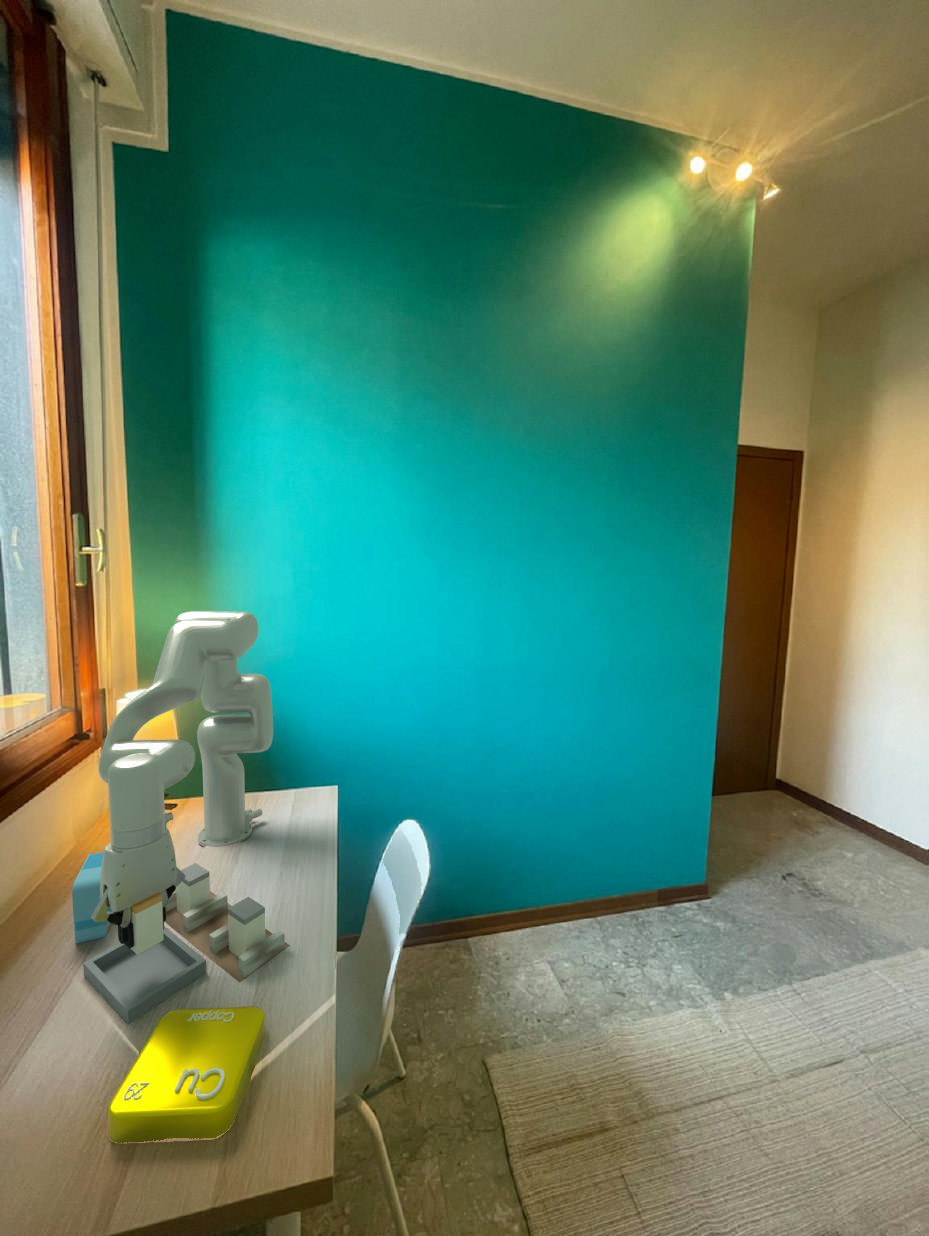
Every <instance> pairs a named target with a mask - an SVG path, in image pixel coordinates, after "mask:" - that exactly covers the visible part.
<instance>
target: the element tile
mask: <svg viewBox="0 0 929 1236" xmlns="http://www.w3.org/2000/svg"><path fill="white" fill-rule="evenodd" d="M264 1013H265V1012H264V1010H263V1009H262V1008H261V1007H258V1006H231V1007H228V1006H226V1007H197V1008H196V1007H195V1008H177V1009H174V1010H170V1011H167V1013H166V1014H164V1015H163V1016H162V1017H161V1018H160V1019H159V1020H158V1021H157V1023H156V1025H155V1027H154V1028H153V1030H152V1032H151V1033H150V1035H149V1037H148V1039H147V1040H146V1042H145V1043H144V1045H143V1046H142V1049H141V1050H140V1052H139V1053H138V1055H137V1057H136V1058H135V1059H134V1061H133V1063H132V1065H131V1067H130V1068H129V1070H128V1072H127V1073H126V1075H125V1076H124V1078H123V1080H122V1082H121V1083H120V1085H119V1086H118V1087H117V1090H116V1091H115V1093H114V1095H113V1096H112V1098H111V1100H110V1102H109V1105H108V1109H107V1115H108V1117H107V1118H108V1134H109V1135H110V1136H109V1139H110V1138H111V1140H112V1141H114V1142H117V1143H121V1142H122V1143H124V1142H127V1143H128V1142H144V1141H146V1142H147V1141H153V1140H154V1141H156V1140H159V1141H160V1140H164V1139H167V1138H168V1139H169V1138H171V1139H172V1138H189V1139H190V1138H191V1139H192V1138H193V1139H194V1138H196V1139H197V1138H199V1139H201V1138H202V1139H203V1138H216V1137H217V1136H219V1135H221V1134H223V1133H225V1132H226V1131H227V1130H228V1129H229V1128H230V1126H231V1125H232V1124H233V1122H234V1120H235V1118H236V1116H237V1117H238V1115H237V1113H238V1114H239V1112H238V1110H239V1107H240V1105H241V1106H242V1104H241V1102H242V1103H243V1101H242V1100H244V1098H243V1096H244V1094H245V1095H246V1093H245V1092H247V1090H248V1086H249V1084H250V1082H249V1081H251V1078H252V1075H253V1072H254V1070H255V1067H256V1065H255V1062H256V1059H257V1056H258V1053H259V1052H260V1049H261V1046H262V1042H263V1040H264V1037H265V1014H264ZM246 1089H247V1090H246ZM244 1097H245V1096H244ZM240 1108H241V1107H240ZM239 1111H240V1110H239ZM236 1119H237V1118H236ZM111 1140H110V1141H111Z"/></svg>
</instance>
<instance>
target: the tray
mask: <svg viewBox="0 0 929 1236" xmlns="http://www.w3.org/2000/svg"><path fill="white" fill-rule="evenodd" d="M163 937H164V940H163V941H161V942H159V943H158V944H156V945H154V946H152V947H151V948H149V949H147V950H145V951H144V952H142V953H140V954H138V955H137V954H136V953H135V952H134V951H133V950H132V949H131V948H130V949H129V948H128V947H127V946H126V945H125V944H121V943H120V942H119V943H117V944H115V945H113V946H112V947H110V948H108V949H106V950H105V951H102V952H100V953H99V954H97V955H95V956H93V957H91V958H89V959H88V960H86V961H84V962H83V963H82V964H83V965H82V966H83V976H84V977H85V979H87V981H88V982H89V983H90V984H91V985H92V986H93V987H94V988H95V990H97V992H98V993H99V994H100V995H101V996H102V997H103V998H104V999H105V1001H106V1002H107V1003H108V1004H109V1005H110V1006H111V1007H112V1009H114V1011H115V1012H116V1013H117V1014H118V1015H119V1016H120V1017H121V1019H122V1020H123V1021H124V1022H125V1023H126V1024H127V1025H131V1024H132V1023H134V1022H135V1021H137V1020H138V1019H139V1018H141V1017H142V1016H144V1015H146V1014H147V1013H148V1012H150V1011H152V1010H153V1009H155V1008H156V1007H157V1006H158V1005H160V1004H161V1003H163V1002H165V1001H166V1000H168V999H169V998H171V997H172V996H174V995H175V994H176V993H178V992H179V991H181V990H183V989H184V988H186V987H187V986H188V985H190V984H191V983H193V982H195V981H196V980H197V979H199V978H200V977H201V976H203V975H205V974H207V960H206V959H205V958H204V957H203V955H200V953H198V952H197V951H195V950H194V948H192V947H191V946H189V945H188V944H187V943H186V942H184V941H183V940H182V939H181V938H180V937H178V936H177V935H176V934H175V933H173V932H172V931H171V930H170V929H168V928H167V927H166V926H165V925H164V930H163Z"/></svg>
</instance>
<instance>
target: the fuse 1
mask: <svg viewBox="0 0 929 1236" xmlns="http://www.w3.org/2000/svg"><path fill="white" fill-rule="evenodd" d="M180 870H181V871H182V872H183V873H184V874H185V875H186V877H185V879H184V880H183V881H182V882H181V883H180V884H179V885H178V886H177V887H176V896H177V911H179V912H180V913H181V914H185V913H186V912H188V911H190V910H192V909H194V908H195V907H197V906H199V905H201V904H203V903H205V902H206V901H208V900H210V891H211V888H210V887H211V882H210V871H208V870H207V869H206V868H205V867H203V866H201V865H200V864H198V863H196V862H195V863H193V864H191V865H189V866H187V867H184V868H181V869H180Z"/></svg>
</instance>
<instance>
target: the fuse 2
mask: <svg viewBox="0 0 929 1236" xmlns="http://www.w3.org/2000/svg"><path fill="white" fill-rule="evenodd" d="M265 929H266V907H265V906H264V905H263V904H261V903H259V902H258V901H256V900H254V899H253V898H252V897H250V896H247V897H245V898H244V899H242V900H240V901H238V902H236V903H235V904H233V905H231V907H230V908H228V932H229V950H230V951H231V952H232V953H234V954H235V955H236V956H238V957H240V956H241V955H243V954H244V953H245V952H247V951H248V950H250V949H251V948H253V947H254V946H256V945H257V944H259V943H260V942H262V941H263V940H264V939H265Z"/></svg>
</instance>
